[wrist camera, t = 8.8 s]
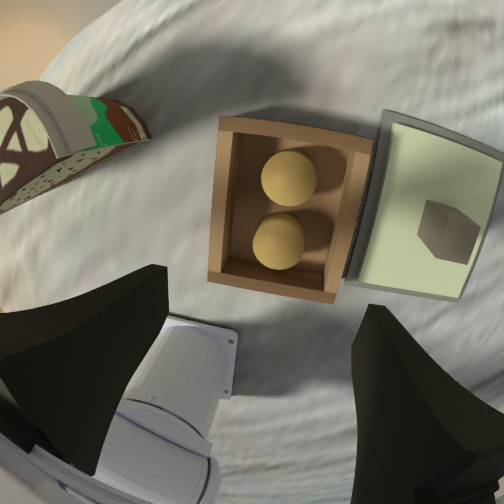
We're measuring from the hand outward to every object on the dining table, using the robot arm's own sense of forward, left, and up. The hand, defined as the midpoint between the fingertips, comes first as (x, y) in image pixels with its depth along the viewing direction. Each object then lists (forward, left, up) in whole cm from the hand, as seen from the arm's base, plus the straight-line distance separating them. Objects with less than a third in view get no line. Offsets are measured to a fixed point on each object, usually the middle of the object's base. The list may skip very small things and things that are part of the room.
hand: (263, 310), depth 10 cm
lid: (+2, -10, -10) cm, 14 cm away
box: (+1, 0, -10) cm, 10 cm away
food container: (+5, +15, -10) cm, 19 cm away
